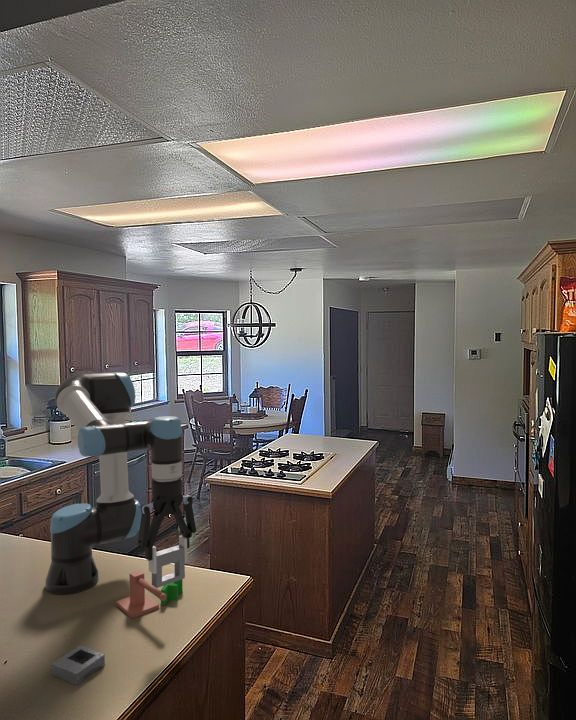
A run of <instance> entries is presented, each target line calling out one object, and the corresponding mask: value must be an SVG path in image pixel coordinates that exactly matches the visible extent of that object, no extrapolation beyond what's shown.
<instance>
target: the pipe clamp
mask: <svg viewBox="0 0 576 720" xmlns="http://www.w3.org/2000/svg"><path fill="white" fill-rule="evenodd" d="M160 591H161V592H162V593H164V594H166V596H167V597H166V599H165V600H164V601H161V600H160V606H165V605H166V604H167V603H168V601H178V600H179V597H178V595H179V594H183V592H184V591H183V579H181V580H178V581H176V582H173V583H170V584H167V585H164V586H162V587H161V589H160Z"/></svg>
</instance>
